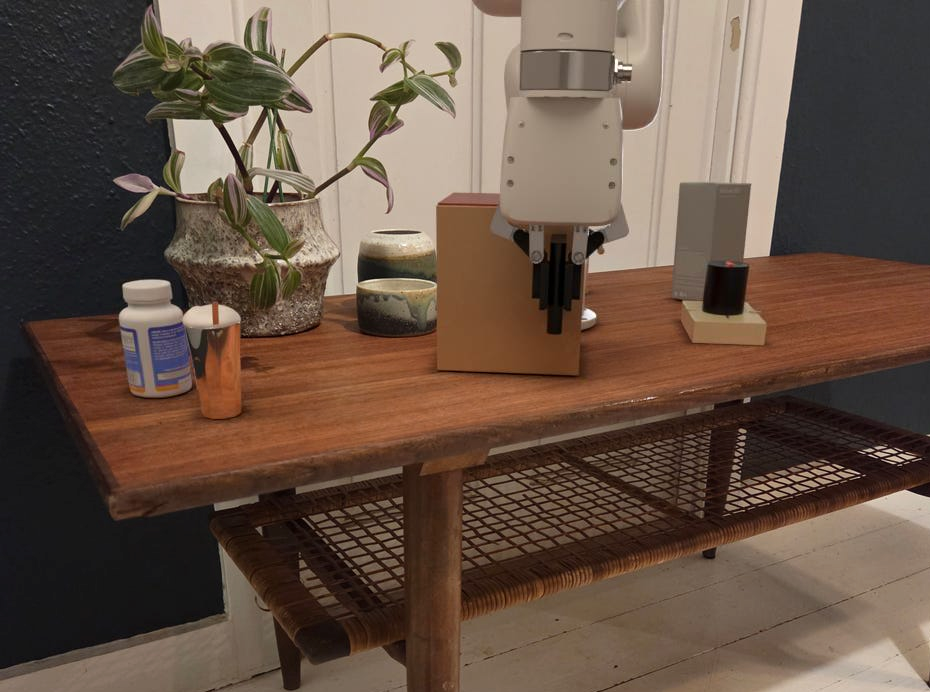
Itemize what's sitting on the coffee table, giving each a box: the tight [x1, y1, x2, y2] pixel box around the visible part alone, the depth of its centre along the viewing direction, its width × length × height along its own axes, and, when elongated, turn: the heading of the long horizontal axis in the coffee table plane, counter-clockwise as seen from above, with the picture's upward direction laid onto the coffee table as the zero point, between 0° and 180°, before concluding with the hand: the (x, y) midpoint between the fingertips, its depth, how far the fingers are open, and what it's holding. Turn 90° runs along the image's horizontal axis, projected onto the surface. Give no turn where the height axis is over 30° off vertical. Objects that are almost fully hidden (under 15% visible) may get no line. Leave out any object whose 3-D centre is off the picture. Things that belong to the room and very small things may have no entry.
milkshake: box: [182, 301, 242, 420], centre depth 72 cm, size 4×5×10 cm
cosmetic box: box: [670, 181, 752, 301], centre depth 121 cm, size 8×7×16 cm
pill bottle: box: [118, 279, 193, 399], centre depth 79 cm, size 5×5×10 cm
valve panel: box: [680, 300, 768, 346], centre depth 105 cm, size 12×9×3 cm
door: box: [435, 204, 585, 376], centre depth 81 cm, size 7×14×16 cm, turn 84°
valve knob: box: [702, 261, 750, 315], centre depth 103 cm, size 5×5×6 cm
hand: (555, 306), depth 78 cm, fingers closed
